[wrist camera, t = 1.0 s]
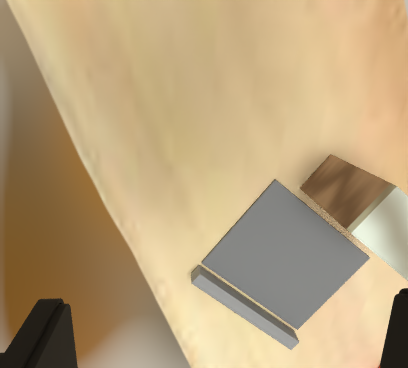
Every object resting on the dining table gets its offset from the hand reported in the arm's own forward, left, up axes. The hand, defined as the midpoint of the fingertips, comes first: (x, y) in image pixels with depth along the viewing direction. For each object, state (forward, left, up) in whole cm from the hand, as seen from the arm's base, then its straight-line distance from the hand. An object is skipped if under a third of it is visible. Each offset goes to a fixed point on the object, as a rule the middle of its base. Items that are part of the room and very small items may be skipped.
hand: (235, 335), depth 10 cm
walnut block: (-7, +17, -28) cm, 33 cm away
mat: (+3, +17, -28) cm, 33 cm away
